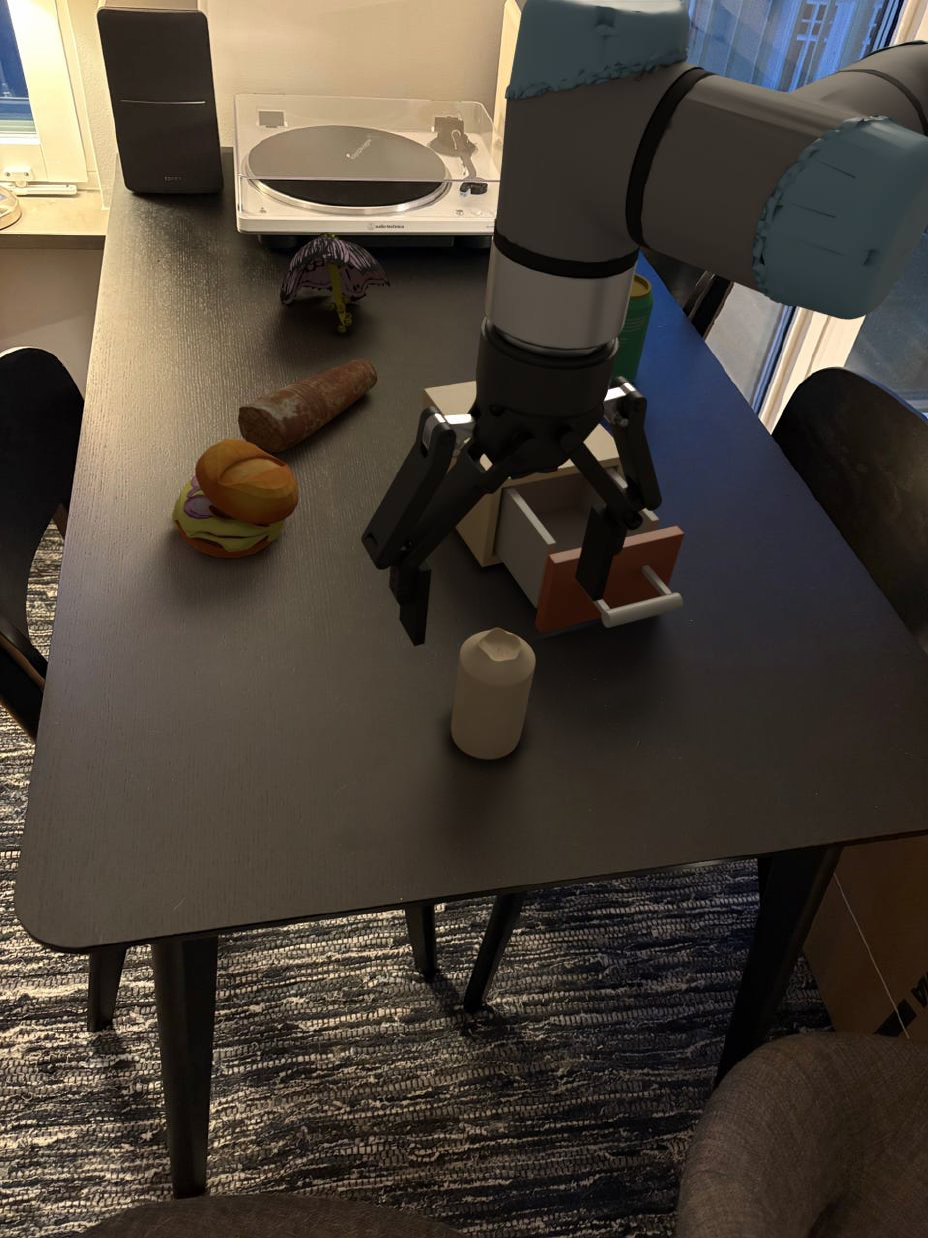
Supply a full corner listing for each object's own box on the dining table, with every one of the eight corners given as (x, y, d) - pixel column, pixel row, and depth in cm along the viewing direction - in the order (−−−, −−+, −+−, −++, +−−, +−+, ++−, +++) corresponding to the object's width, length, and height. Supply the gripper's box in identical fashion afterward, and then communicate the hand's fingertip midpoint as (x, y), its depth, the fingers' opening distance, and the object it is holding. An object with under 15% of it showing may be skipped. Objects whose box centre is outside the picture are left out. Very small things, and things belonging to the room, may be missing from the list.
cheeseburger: (186, 490, 94) (201, 405, 88) (293, 522, 96) (316, 442, 90) (156, 555, 87) (170, 467, 80) (272, 589, 89) (296, 506, 82)
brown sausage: (233, 446, 101) (229, 399, 97) (351, 377, 113) (351, 333, 109) (279, 470, 98) (276, 422, 94) (394, 397, 110) (396, 352, 106)
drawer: (695, 640, 84) (720, 571, 79) (569, 675, 80) (586, 605, 74) (584, 507, 97) (599, 440, 91) (470, 531, 92) (478, 462, 87)
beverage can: (633, 365, 121) (655, 272, 112) (635, 398, 115) (658, 302, 107) (570, 356, 121) (586, 263, 113) (568, 389, 115) (586, 293, 107)
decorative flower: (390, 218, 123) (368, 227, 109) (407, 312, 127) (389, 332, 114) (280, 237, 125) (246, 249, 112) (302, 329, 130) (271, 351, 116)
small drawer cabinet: (608, 538, 95) (629, 454, 88) (482, 567, 90) (493, 481, 83) (535, 450, 105) (549, 369, 98) (417, 472, 100) (423, 388, 93)
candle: (452, 760, 74) (464, 670, 67) (448, 705, 77) (459, 615, 71) (524, 760, 74) (543, 671, 67) (516, 706, 78) (533, 616, 71)
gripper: (702, 271, 59) (628, 540, 74) (306, 317, 50) (312, 612, 65) (778, 329, 54) (682, 605, 69) (355, 391, 45) (349, 692, 60)
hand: (503, 609), depth 67 cm, fingers open, 13 cm apart
